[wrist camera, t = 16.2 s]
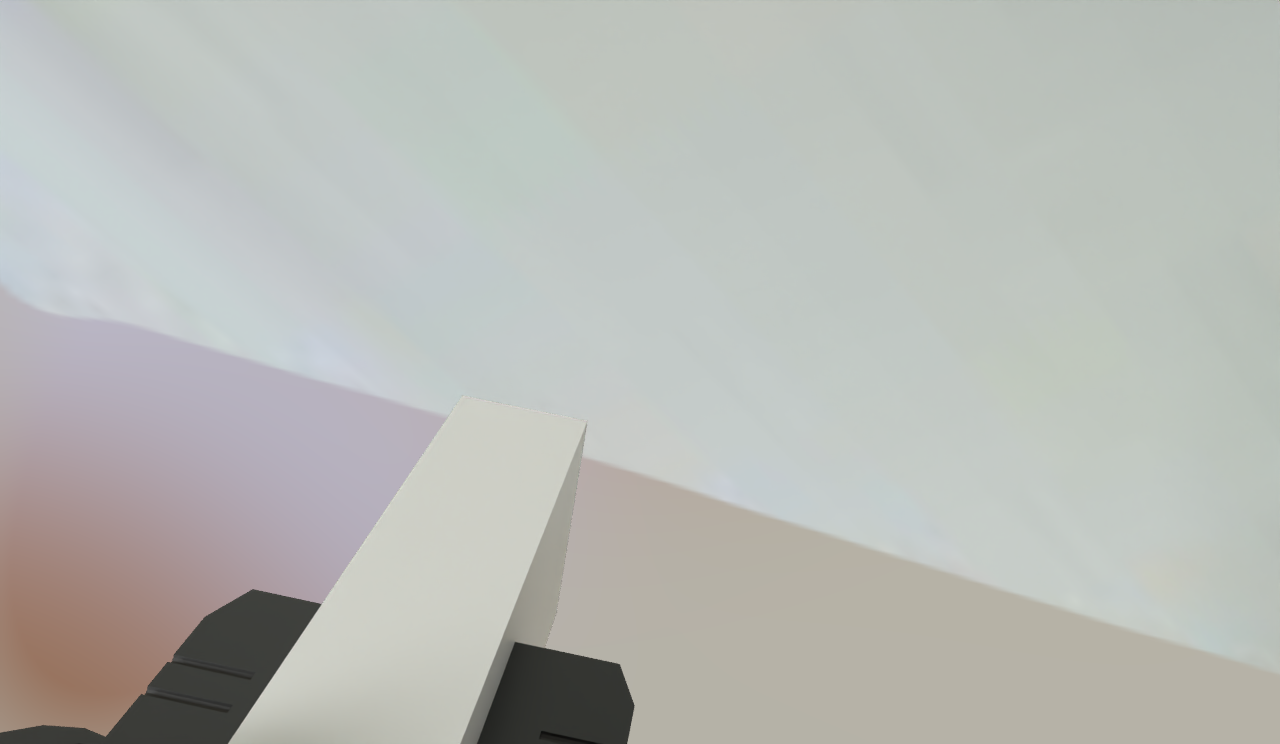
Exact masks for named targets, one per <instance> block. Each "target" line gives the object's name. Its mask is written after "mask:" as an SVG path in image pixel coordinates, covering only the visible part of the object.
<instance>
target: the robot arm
mask: <svg viewBox="0 0 1280 744" xmlns="http://www.w3.org/2000/svg"><path fill="white" fill-rule="evenodd" d="M586 427H587V421H586V420H581V419H576V418H571V417H566V416H561V415H556V414H551V413H546V412H541V411H536V410H531V409H527V408H522V407H517V406H512V405H507V404H502V403H497V402H492V401H487V400H482V399H477V398H472V397H468V396H463V395H462V397H461V398H460V400H459V401H458V403H457V404H456V406H455V407H454V409H453V410H452V412H451V413H450V415H449V416H448V418H447V419H446V421H445V422H444V424H443V425H442V427H441V428H440V430H439V431H438V433H437V434H436V435H435V437H434V438H433V440H432V442H431V443H430V444H429V446H428V447H427V449H426V451H425V452H424V453H423V455H422V456H421V458H420V459H419V461H418V462H417V464H416V465H415V467H414V468H413V470H412V471H411V473H410V474H409V476H408V477H407V479H406V480H405V482H404V483H403V485H402V486H401V488H400V489H399V490H398V492H397V493H396V495H395V496H394V498H393V499H392V501H391V502H390V504H389V506H388V507H387V508H386V510H385V511H384V513H383V514H382V516H381V517H380V519H379V520H378V522H377V523H376V525H375V526H374V528H373V529H372V531H371V532H370V534H369V535H368V537H367V538H366V540H365V541H364V543H363V544H362V546H361V547H360V548H359V550H358V551H357V553H356V554H355V556H354V558H353V559H352V560H351V562H350V563H349V565H348V566H347V568H346V569H345V571H344V572H343V574H342V575H341V577H340V578H339V580H338V581H337V583H336V584H335V586H334V587H333V589H332V590H331V591H330V593H329V595H328V596H327V597H326V599H325V600H324V602H323V604H319V603H314V602H310V601H305V600H300V599H296V598H291V597H286V596H281V595H277V594H272V593H268V592H263V591H258V590H254V589H253V590H251V591H249V592H247V593H246V594H244V595H242V596H240V597H239V598H237V599H235V600H233V601H232V602H230V603H228V604H226V605H225V606H223V607H221V608H220V609H218V610H216V611H214V612H213V613H211V614H209V615H208V616H206V617H205V618H204V619H203V620H202V621H201V622H200V624H199V625H198V626H197V627H196V628H195V630H194V631H193V632H192V633H191V635H190V636H189V637H188V638H187V639H186V640H185V642H184V643H183V644H182V645H181V647H180V648H179V649H178V650H177V651H176V653H175V654H174V658H173V661H172V662H171V663H170V662H167V663H166V665H165V666H164V667H163V668H162V670H161V671H160V672H159V673H158V674H157V676H156V677H155V678H154V679H153V680H152V682H151V683H150V684H149V685H148V688H147V692H146V694H145V695H142V694H141V695H140V696H139V697H138V699H137V700H136V701H135V702H134V703H133V705H132V706H131V707H130V708H129V709H128V711H127V712H126V713H125V714H124V715H123V717H122V718H121V719H120V720H119V722H118V723H117V724H116V725H115V726H114V728H113V729H112V730H111V731H110V732H109V734H108V735H107V736H106V737H104V736H102V735H100V734H97V733H95V732H93V731H90V730H88V729H85V728H74V727H59V726H46V725H42V726H36V727H31V728H25V729H19V730H13V731H8V732H2V733H0V744H627V741H628V736H629V731H630V726H631V721H632V716H633V710H634V703H633V700H632V697H631V695H630V692H629V689H628V686H627V684H626V681H625V678H624V675H623V672H622V669H621V667H620V664H616V663H612V662H607V661H602V660H598V659H593V658H588V657H584V656H579V655H574V654H570V653H565V652H560V651H556V650H551V649H546V648H545V646H546V643H547V640H548V637H549V634H550V631H551V628H552V625H553V622H554V619H555V616H556V613H557V607H558V601H559V594H560V589H561V582H562V576H563V570H564V564H565V557H566V551H567V545H568V539H569V533H570V526H571V520H572V514H573V507H574V502H575V495H576V489H577V483H578V477H579V470H580V464H581V458H582V452H583V446H584V440H585V433H586Z"/></svg>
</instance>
